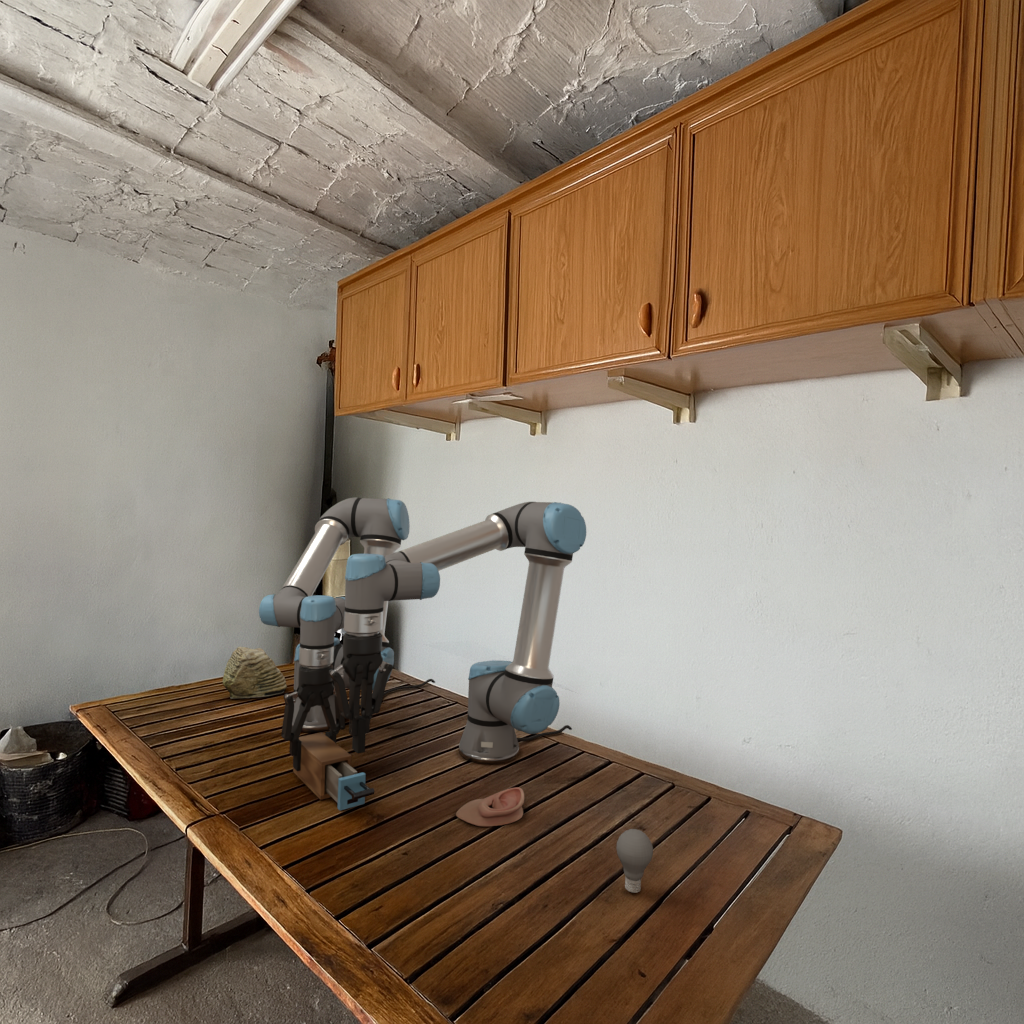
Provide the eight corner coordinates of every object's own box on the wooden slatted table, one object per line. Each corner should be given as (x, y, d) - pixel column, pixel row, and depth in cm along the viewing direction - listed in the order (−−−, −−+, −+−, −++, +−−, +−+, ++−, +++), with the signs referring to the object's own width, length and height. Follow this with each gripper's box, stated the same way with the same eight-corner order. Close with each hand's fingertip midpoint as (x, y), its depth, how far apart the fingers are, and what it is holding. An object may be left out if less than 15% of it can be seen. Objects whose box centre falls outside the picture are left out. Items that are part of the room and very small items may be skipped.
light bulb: (610, 879, 108) (613, 822, 108) (644, 879, 109) (647, 822, 109) (619, 902, 102) (622, 840, 102) (655, 901, 103) (658, 840, 103)
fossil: (218, 695, 195) (220, 647, 195) (278, 685, 208) (279, 640, 207) (228, 703, 189) (230, 653, 188) (289, 692, 201) (290, 645, 201)
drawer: (376, 814, 125) (377, 783, 125) (350, 821, 122) (351, 790, 122) (334, 776, 141) (335, 749, 141) (310, 782, 138) (311, 754, 138)
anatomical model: (451, 802, 125) (467, 778, 136) (451, 822, 125) (466, 796, 136) (517, 812, 122) (528, 786, 134) (516, 832, 123) (527, 804, 134)
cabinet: (350, 792, 136) (351, 755, 136) (320, 800, 132) (321, 762, 132) (320, 765, 149) (322, 732, 149) (293, 772, 145) (294, 737, 145)
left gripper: (278, 674, 135) (274, 781, 135) (363, 662, 147) (359, 761, 148) (267, 666, 141) (263, 768, 141) (350, 655, 153) (346, 750, 153)
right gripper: (339, 639, 118) (334, 764, 119) (401, 632, 126) (396, 749, 127) (323, 631, 124) (319, 750, 125) (384, 625, 132) (379, 737, 133)
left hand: (312, 764), depth 144 cm, fingers closed on cabinet, 7 cm apart
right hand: (358, 750), depth 126 cm, fingers closed
